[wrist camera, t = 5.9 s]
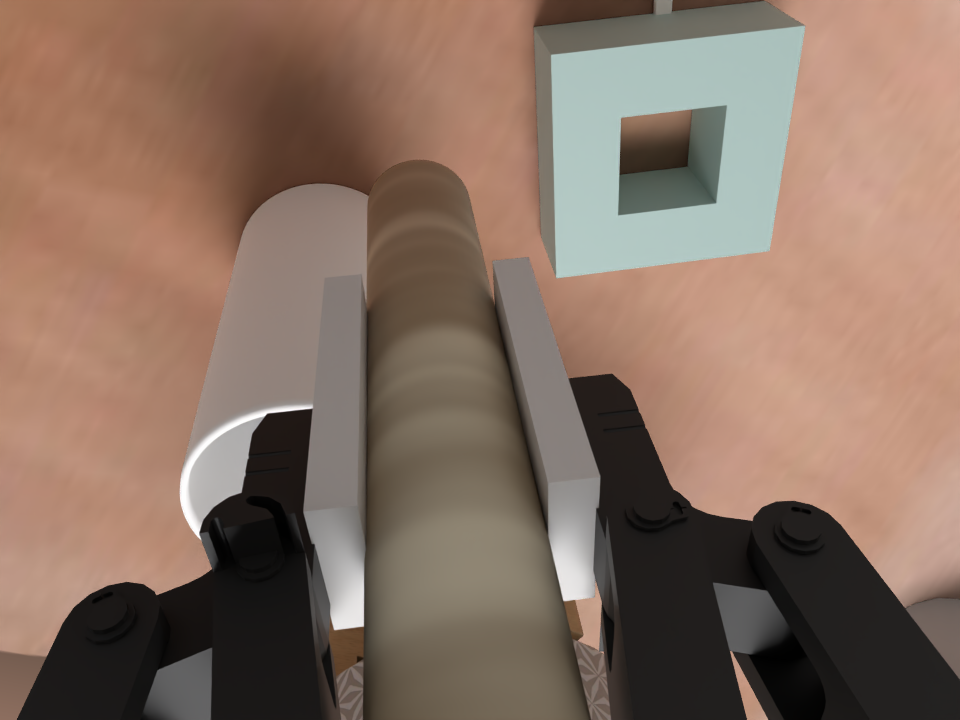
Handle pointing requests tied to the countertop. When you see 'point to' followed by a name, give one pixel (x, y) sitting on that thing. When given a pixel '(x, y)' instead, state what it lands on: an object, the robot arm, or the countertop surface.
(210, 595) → the robot arm
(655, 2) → the cream stick
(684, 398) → the countertop surface
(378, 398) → the beige wooden dowel
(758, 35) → the bead
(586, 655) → the planter
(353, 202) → the cup
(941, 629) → the cup
